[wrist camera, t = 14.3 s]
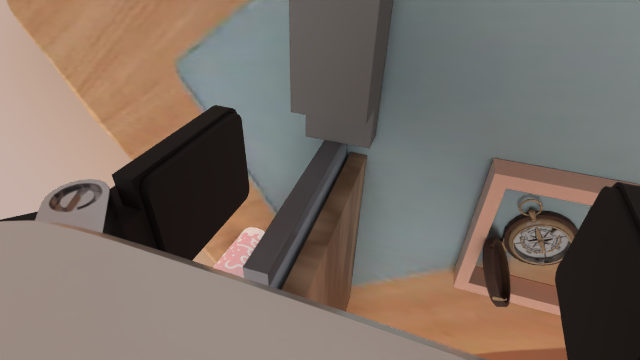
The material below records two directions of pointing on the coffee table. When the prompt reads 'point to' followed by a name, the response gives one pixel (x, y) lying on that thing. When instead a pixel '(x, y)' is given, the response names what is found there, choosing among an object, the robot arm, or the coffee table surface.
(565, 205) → the coffee table surface
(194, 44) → the coffee table surface
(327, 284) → the door wall
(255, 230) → the beverage cup
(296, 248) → the sliding door
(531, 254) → the compass
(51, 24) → the coffee table surface
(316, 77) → the grey stepped block
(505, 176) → the square frame
